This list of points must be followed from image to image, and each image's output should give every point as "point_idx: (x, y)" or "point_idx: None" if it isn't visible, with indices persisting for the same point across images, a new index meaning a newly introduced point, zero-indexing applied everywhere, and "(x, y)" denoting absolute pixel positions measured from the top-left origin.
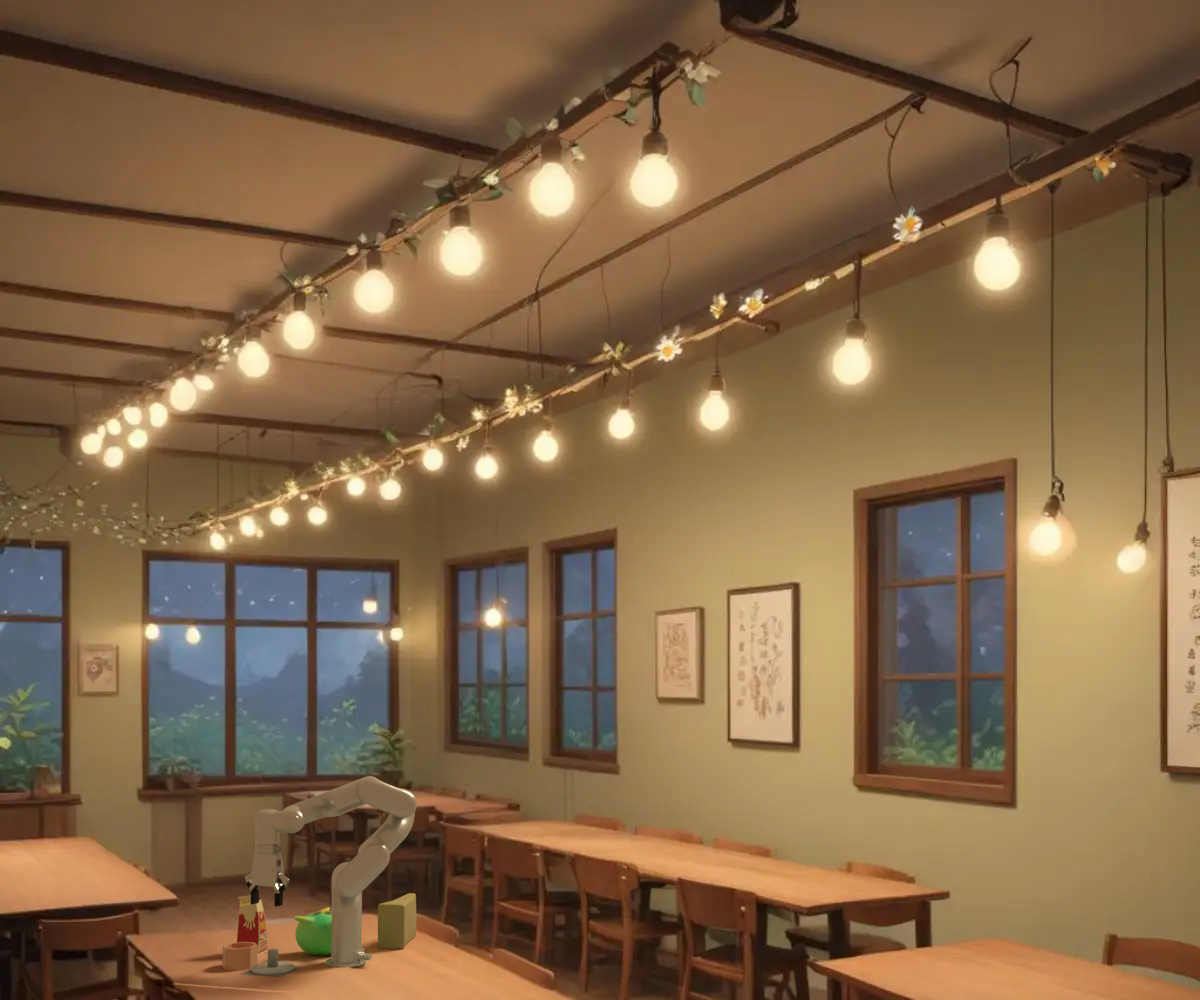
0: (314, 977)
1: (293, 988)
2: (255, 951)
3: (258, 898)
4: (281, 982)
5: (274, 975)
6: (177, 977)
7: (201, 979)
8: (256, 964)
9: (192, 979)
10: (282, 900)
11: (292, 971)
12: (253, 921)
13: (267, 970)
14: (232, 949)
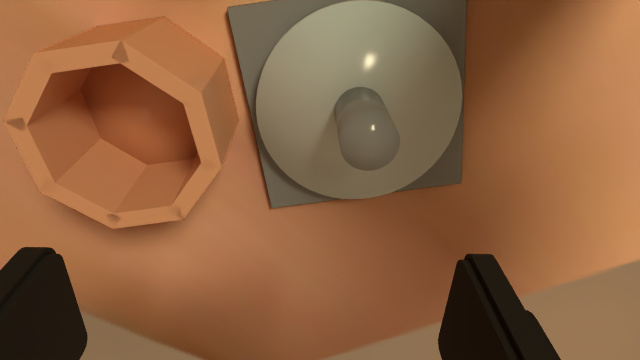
0: (592, 103)
1: (573, 259)
2: (213, 102)
3: (28, 299)
4: (489, 216)
5: (422, 175)
6: (77, 298)
7: (179, 287)
8: (258, 112)
9: (150, 298)
10: (537, 329)
11: (462, 88)
12: None
13: (386, 181)
14: (155, 221)
